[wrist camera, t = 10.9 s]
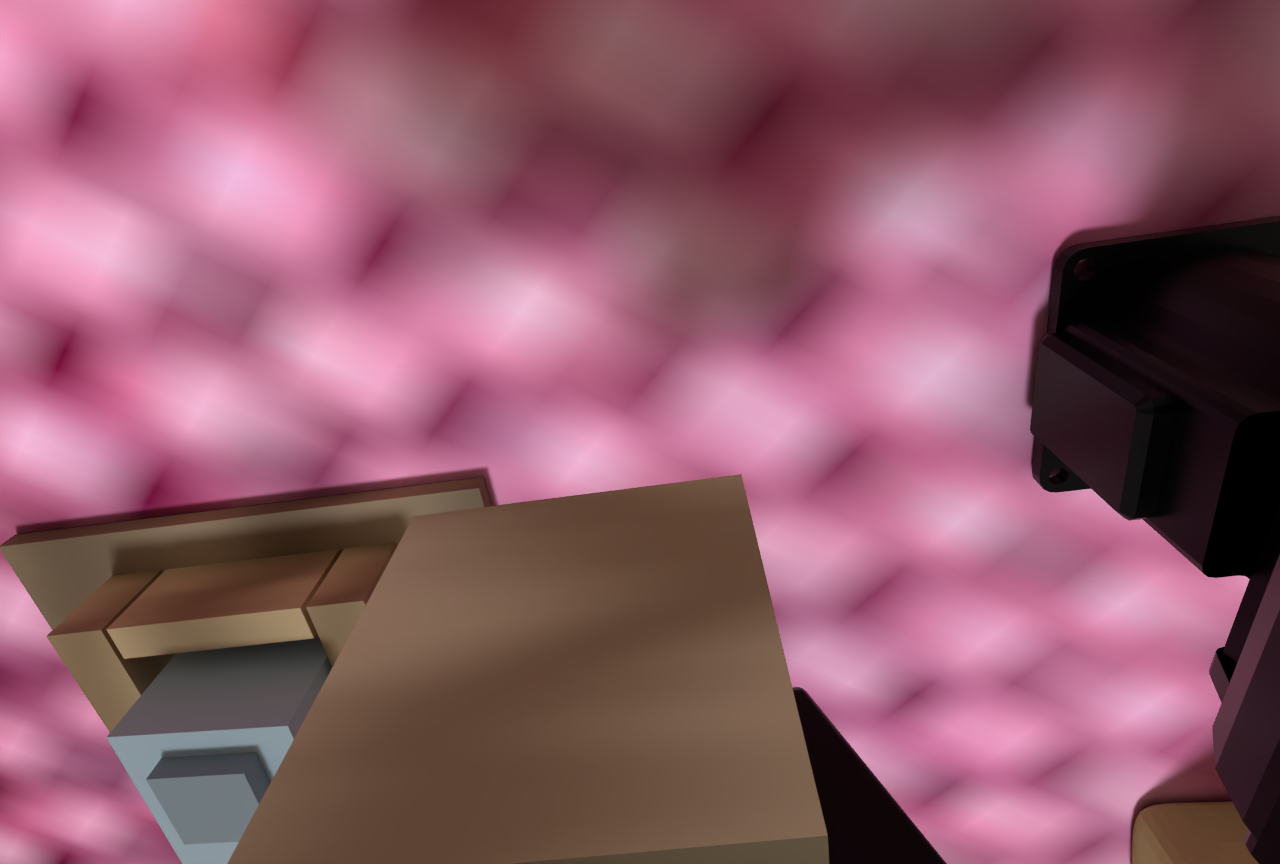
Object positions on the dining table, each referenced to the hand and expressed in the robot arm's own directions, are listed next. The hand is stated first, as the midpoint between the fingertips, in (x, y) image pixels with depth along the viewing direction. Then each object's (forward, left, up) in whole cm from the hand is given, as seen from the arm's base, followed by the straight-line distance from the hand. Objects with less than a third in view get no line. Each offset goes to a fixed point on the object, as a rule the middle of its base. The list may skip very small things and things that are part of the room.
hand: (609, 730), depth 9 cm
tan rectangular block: (0, 0, -1) cm, 1 cm away
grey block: (+11, +10, -10) cm, 18 cm away
